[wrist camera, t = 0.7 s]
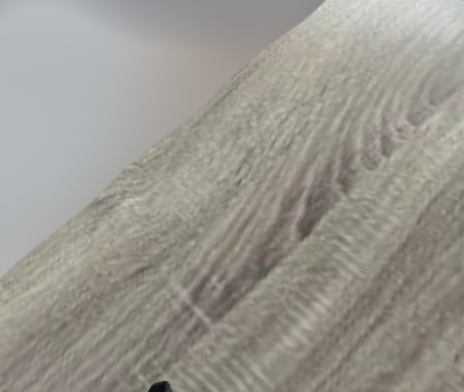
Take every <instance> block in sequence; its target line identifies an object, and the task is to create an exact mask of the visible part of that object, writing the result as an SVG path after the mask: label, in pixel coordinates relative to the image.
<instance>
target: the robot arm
mask: <svg viewBox="0 0 464 392" xmlns="http://www.w3.org/2000/svg"><path fill="white" fill-rule="evenodd" d="M148 392H172V390H171V387H170V384H169V383H168V381H162V382H158V383H154V384H153V385H152V386H151V387H150V389H149V391H148Z"/></svg>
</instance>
